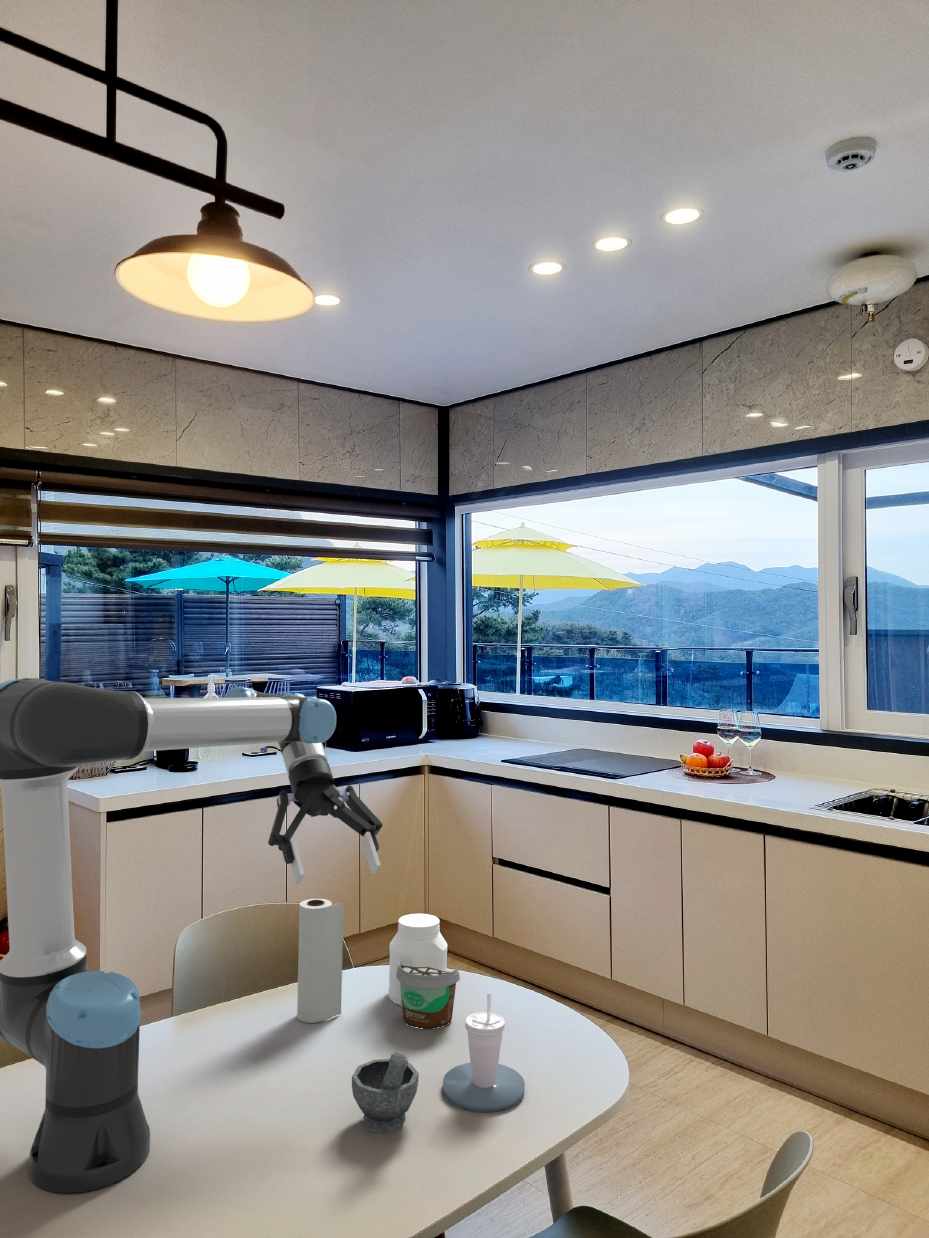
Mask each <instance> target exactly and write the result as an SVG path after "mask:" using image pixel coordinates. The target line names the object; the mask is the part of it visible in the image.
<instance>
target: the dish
mask: <svg viewBox="0 0 929 1238" xmlns="http://www.w3.org/2000/svg"><path fill="white" fill-rule="evenodd" d="M525 1085H526V1084H525V1080H524V1077H523V1076H522V1075H521V1074H520V1073H519V1072H518V1071H517V1070H515V1069H513V1068H511V1067H509V1066H508V1065H504V1064H501V1063H498V1068H497V1075H496V1082H495V1084H494V1085H493V1086H491V1087H487V1088H482V1087H478V1086H476V1085H474V1084H473V1082H472V1073H471V1063H470V1062H467V1063H463V1064H459V1065H456V1066H455V1067H453V1068H451V1069H449V1070H448V1071H447V1072H446V1073H445V1075H443V1078H442V1093H443V1096H444V1097H445V1098H446V1100H447V1101H448V1102H450V1103H451V1104H452V1105H454V1106H456V1107H458V1108H460V1109H462V1110H466V1111H470V1112H476V1113H495V1112H496V1113H497V1112H501V1111H505V1110H509V1109H511V1108H513V1107H515V1106H517V1105H518V1104H519V1103H520V1102H522V1100H523V1099H522V1098H524V1097H525V1093H524V1092H525V1090H526V1089H525ZM523 1096H524V1097H523ZM521 1099H522V1100H521ZM518 1102H519V1103H518ZM517 1103H518V1104H517ZM516 1104H517V1105H516ZM514 1105H515V1106H514Z"/></svg>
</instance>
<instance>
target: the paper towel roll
mask: <svg viewBox="0 0 929 1238" xmlns="http://www.w3.org/2000/svg"><path fill="white" fill-rule="evenodd" d="M298 915H299V916H298V918H299V920H298V921H299V922H298V958H297V959H298V963H297V964H298V968H297V969H298V970H297V1003H296V1005H297V1008H296V1010H297V1011H296V1014H297V1015H296V1018H297V1019H298V1020H299V1021H300V1022H303V1023H308V1024H312V1023H314V1024H315V1023H316V1024H317V1023H320V1022H324V1021H328V1020H330V1019H331V1018H334V1017H336V1016H339V1015H341V1014H342V989H343V987H342V982H343V979H342V978H343V944H344V943H343V941H344V939H343V936H344V932H343V931H344V902H338V903H335V904H333V902H332V901H331V900H328V899H325V898H310V899H304V900H303V901H301V902H299V913H298Z"/></svg>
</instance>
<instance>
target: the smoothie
mask: <svg viewBox="0 0 929 1238" xmlns="http://www.w3.org/2000/svg"><path fill="white" fill-rule="evenodd" d="M491 999H492V993H491V992H487V997H486V1002H487V1003H486V1011H479V1012H475V1013H472V1014H469V1015H468V1016H467V1017H466V1018H465V1022H464V1028H465V1030H466V1032H467V1042H468V1050H469V1061H470V1062H469V1063H471V1073H472V1082H473V1084H474V1085H476V1086H478V1087H482V1088H487V1087H491V1086H493V1085H494V1084H495V1082H496V1075H497V1068H498V1064H499V1061H500V1052H501V1048H502V1047H501V1045H502V1040H503V1039H502V1038H503V1032H504V1031H505V1030H506V1029H505V1028H506V1025H505V1024H506V1022H505V1019H504V1017H503V1016H501V1015H499V1014H496V1013H494V1012H491V1007H492V1006H491V1005H492V1004H491V1003H492V1001H491Z"/></svg>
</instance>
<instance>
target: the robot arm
mask: <svg viewBox="0 0 929 1238" xmlns="http://www.w3.org/2000/svg"><path fill="white" fill-rule="evenodd" d="M336 727H337V713H336V710H335V707H334V705H333V704H331V703H330V701H328V700H326V699H324V698H323V699H322V698H318V697H316V696H312V697H306V696H305V695H304V694H301V693H298V692H295V693H290V692H288V693H285V694H278V693H269V692H268V693H267V692H260V691H257V690H255V689H253V688H247V687H245V686H240V685H239V686H235V687H233V688H231V689H229V690H228V691H227V692H226V694H225V695H224V697H167V698H166V697H165V698H164V697H163V698H160V697H159V698H156V697H155V698H154V697H153V698H149V697H147V698H145V697H143V695H141V694H140V693H138V692H136V691H133V690H132V691H126V690H125V691H123V690H121V691H119V690H117V691H116V690H110V689H102V688H96V687H90V686H86V685H81V684H77V683H72V682H64V681H63V682H61V681H53V680H46V679H42V678H37V677H34V678H30V677H25V678H18V679H17V678H15V679H10V680H6V681H4V682H3V681H2V682H1V683H0V789H1V790H0V791H1V805H2V822H3V823H2V826H3V844H4V846H3V848H4V861H5V863H4V864H5V867H4V868H5V880H6V881H5V882H6V883H5V884H6V903H7V904H6V905H7V906H6V907H7V921H8V923H7V924H8V941H9V942H8V943H9V944H8V945H9V950H8V952H7V953H6V954H5V956H4V957H3V958H2V959H1V960H0V1037H1V1038H2V1039H3V1040H4V1041H5V1042H6V1043H8V1044H10V1045H11V1046H13V1047H15V1048H17V1049H18V1050H19V1051H21V1052H22V1053H24V1054H26V1055H27V1056H29V1057H30V1058H31V1059H33V1060H35V1061H37V1062H38V1063H39V1064H41V1065H42V1066H44V1068H45V1103H44V1111H43V1114H42V1116H41V1117H42V1118H41V1120H40V1123H39V1126H38V1128H37V1131H36V1134H35V1137H34V1140H33V1142H32V1145H31V1148H30V1151H29V1157H28V1158H29V1159H28V1161H29V1163H28V1175H29V1178H30V1180H31V1181H32V1183H33V1184H34V1185H36V1186H37V1187H38V1188H41V1189H42V1190H45V1191H48V1192H52V1193H53V1192H54V1193H59V1194H60V1193H62V1194H73V1193H76V1194H77V1193H82V1192H83V1193H85V1192H90V1191H94V1190H98V1189H102V1188H106V1187H107V1186H111V1185H112V1184H114V1183H117V1182H119V1181H121V1180H123V1179H124V1178H127V1177H128V1176H130V1175H131V1174H133V1173H134V1172H135V1171H137V1169H139V1168H140V1166H142V1165H143V1163H145V1161H146V1160H147V1158H148V1156H149V1154H150V1151H151V1149H150V1148H151V1129H150V1126H149V1123H148V1122H147V1118H146V1114H145V1111H144V1109H143V1105H142V1102H141V1099H140V1096H139V1064H140V1063H139V1061H140V1056H139V1055H140V1034H141V1033H140V1030H141V1029H140V1028H141V1027H140V1026H141V1025H140V1024H141V1020H142V1008H141V1000H140V991H139V989H138V987H137V985H136V983H134V981H133V980H132V979H130V978H129V977H127V976H126V975H123V974H121V973H117V972H115V971H110V972H107V973H105V972H104V970H91V971H88V956H87V955H88V953H87V951H88V950H87V947H86V945H84V943H82V942H80V941H79V940H77V939H76V938H75V937H76V936H75V919H74V895H73V878H72V877H73V874H72V855H71V851H72V850H71V835H70V833H71V832H70V812H69V810H70V809H69V791H68V790H69V788H68V780H69V779H70V778H71V777H72V775H73V774H74V773H75V772H76V771H77V770H78V768H79V766H85V765H86V766H87V765H93V764H99V763H108V762H118V761H125V760H126V761H127V760H128V761H129V760H130V761H131V760H135V759H137V758H139V757H140V756H141V755H142V754H143V752H151V751H153V752H155V751H156V752H157V751H168V750H183V749H185V750H186V749H197V748H211V747H212V748H214V747H215V748H216V747H229V746H243V745H257V744H258V745H259V744H271V743H273V744H274V743H278V746H279V748H280V753H281V756H282V759H283V762H284V766H285V770H286V773H287V776H288V780H289V785H290V789H291V793H290V792H289V793H288V791H287V790H285V789H282V790H281V791H280V792H279V795H278V796H277V799H276V807H277V811H276V814H275V818H274V821H273V824H272V828H271V831H270V834H269V838H268V841H267V844H268V845H269V846H270V847H274V846H277V849H278V850H279V851H280V852H282V856H283V859H284V863H285V864H286V865H290V866H291V870H292V874H293V878H294V883H295V885H297V884H298V885H299V884H302V881H303V879H304V877H306V876H305V875H306V874H305V873H306V872H305V869H304V866H303V862H302V859H301V855H300V851H299V847H298V843H297V840H296V839H292V838H293V837H294V835H295V833H296V831H297V829H298V828H299V826H300V825H301V823H302V821H303V820H304V818H305V817H306V815H308V816H310V817H311V818H314V817H318V816H323V817H324V816H328V815H330V816H331V817H332V818H335V819H339V820H340V821H341V822H342V823H344V824H345V825H347V826H348V827H349V828H351V829H352V830H353V831H354V832H356V833H357V834H359V835H360V836H361V837H362V838H361V840H360V842H361V846H362V848H363V852H364V854H365V858H366V861H367V863H368V867H369V870H370V874H371V875H372V874H373V875H375V874H376V873H377V872H378V870H379V869H380V867H381V866H382V865H381V861H380V858H379V854H378V851H379V850H380V845H379V842H378V839H377V835H378V834H379V833H380V831H381V829H382V828H383V822H381V820H380V819H379V818H378V817H377V816H376V815H375V813H373V811H372V810H371V809H370V808H369V807H368V806H367V805H366V804H365V803H364V802H363V801H362V799H360V797H359V796H358V795H357V793H356V791H355V789H354V787H353V786H352V785H351V784H348V785H347V786H346V787H345V788H343V789H338V788H337V787H336V785H335V780H334V777H333V772H332V770H331V767H330V764H329V759H328V757H327V753H326V751H325V747H324V744H323V743H325V742H327V741H328V740H329V739H330V738H331V737H332V735H333V734H334V732H335V730H336ZM292 802H293V804H294V805H295V806H296V807H298V808H299V810H298V812H297V814H296V815H295V817H293V819H292V822H291V823H290V825H289V826H288V828H287V830H286V831H285V833H284V834H281V832H282V826H283V823H284V819H285V817H286V813H287V809H288V807H289V806H290V805H291V803H292ZM335 807H336V808H335Z"/></svg>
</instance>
